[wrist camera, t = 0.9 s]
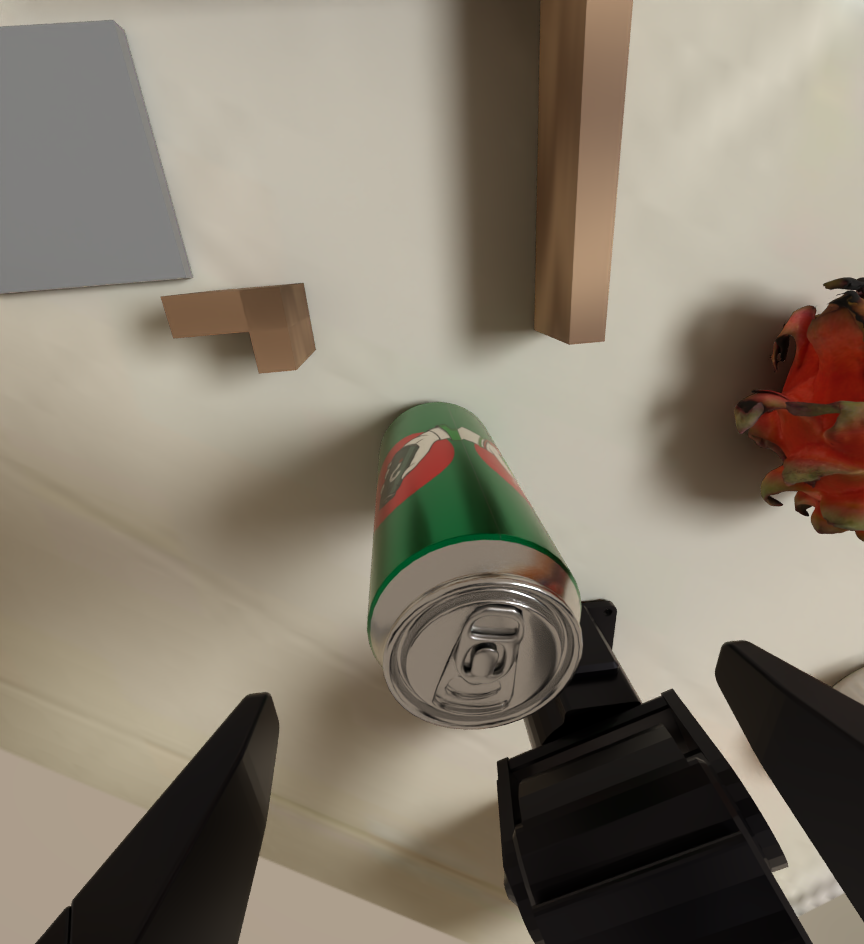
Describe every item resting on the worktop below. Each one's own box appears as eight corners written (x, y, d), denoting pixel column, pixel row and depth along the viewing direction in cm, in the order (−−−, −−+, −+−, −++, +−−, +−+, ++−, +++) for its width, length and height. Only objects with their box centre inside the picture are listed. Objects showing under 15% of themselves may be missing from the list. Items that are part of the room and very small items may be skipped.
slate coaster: (193, 277, 17) (186, 277, 16) (-1, 293, 16) (-15, 294, 16) (124, 29, 14) (113, 20, 13) (-114, 44, 13) (-136, 34, 13)
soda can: (373, 494, 21) (352, 738, 10) (386, 390, 19) (379, 553, 8) (477, 506, 22) (563, 745, 11) (500, 406, 20) (635, 576, 9)
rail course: (562, 327, 18) (604, 341, 15) (228, 357, 18) (186, 380, 14) (582, -121, 13) (655, -271, 9) (107, -98, 13) (-9, -248, 9)
